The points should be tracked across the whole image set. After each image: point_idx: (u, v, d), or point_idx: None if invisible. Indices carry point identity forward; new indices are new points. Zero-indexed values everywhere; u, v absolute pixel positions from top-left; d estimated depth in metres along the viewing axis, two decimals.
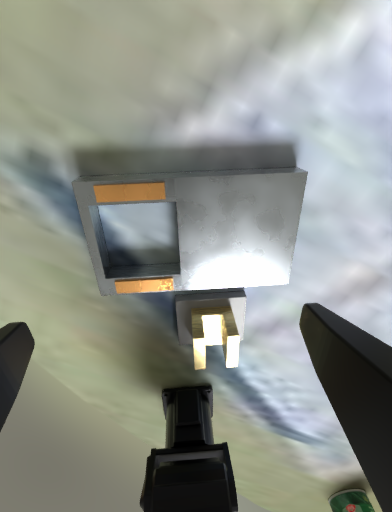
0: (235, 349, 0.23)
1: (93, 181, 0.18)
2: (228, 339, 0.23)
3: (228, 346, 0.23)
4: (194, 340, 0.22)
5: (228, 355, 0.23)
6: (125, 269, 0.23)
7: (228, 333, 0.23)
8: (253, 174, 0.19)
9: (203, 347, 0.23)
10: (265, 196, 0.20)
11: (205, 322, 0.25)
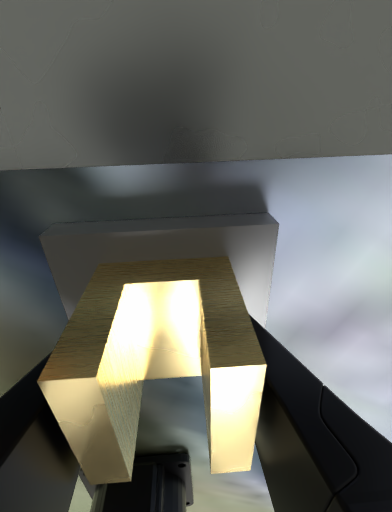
0: (245, 418, 0.05)
1: None
2: (214, 380, 0.05)
3: (215, 408, 0.05)
4: (47, 387, 0.05)
5: (216, 438, 0.06)
6: None
7: (214, 351, 0.05)
8: None
9: (100, 414, 0.05)
10: None
11: (140, 309, 0.07)
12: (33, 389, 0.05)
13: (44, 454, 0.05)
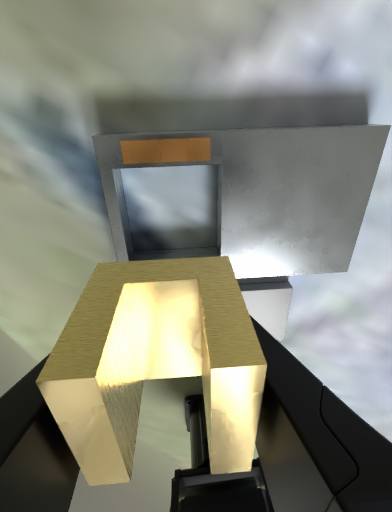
0: (246, 419, 0.05)
1: (120, 135, 0.14)
2: (214, 380, 0.05)
3: (215, 408, 0.05)
4: (46, 388, 0.04)
5: (216, 439, 0.06)
6: (151, 254, 0.19)
7: (214, 351, 0.05)
8: (322, 128, 0.15)
9: (100, 415, 0.05)
10: (334, 158, 0.16)
11: (140, 308, 0.07)
12: (33, 389, 0.05)
13: (44, 454, 0.05)
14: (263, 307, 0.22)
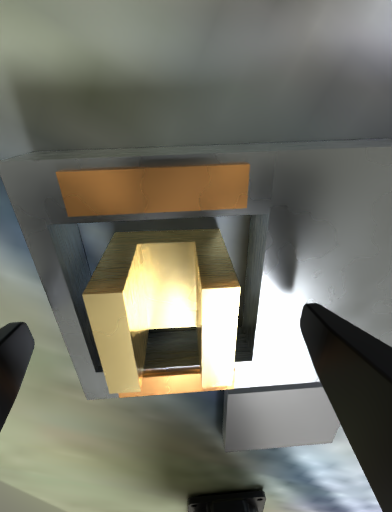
0: (227, 334, 0.07)
1: (56, 160, 0.07)
2: (204, 299, 0.07)
3: (205, 324, 0.07)
4: (89, 300, 0.07)
5: (206, 352, 0.08)
6: None
7: (204, 280, 0.07)
8: None
9: (123, 325, 0.07)
10: None
11: (149, 265, 0.09)
12: None
13: None
14: (309, 408, 0.15)
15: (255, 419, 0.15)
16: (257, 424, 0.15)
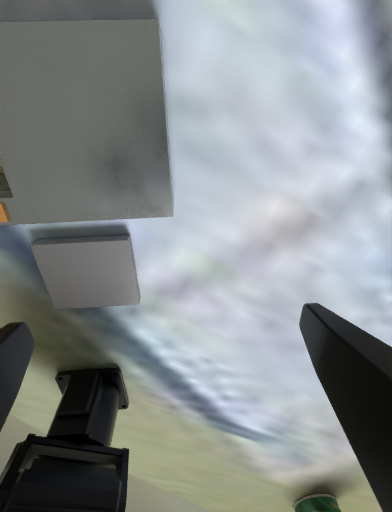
0: None
1: None
2: None
3: None
4: None
5: None
6: None
7: None
8: (74, 21, 0.12)
9: None
10: (102, 64, 0.13)
11: None
12: None
13: None
14: (101, 263, 0.20)
15: (63, 273, 0.20)
16: (67, 279, 0.20)
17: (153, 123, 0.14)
